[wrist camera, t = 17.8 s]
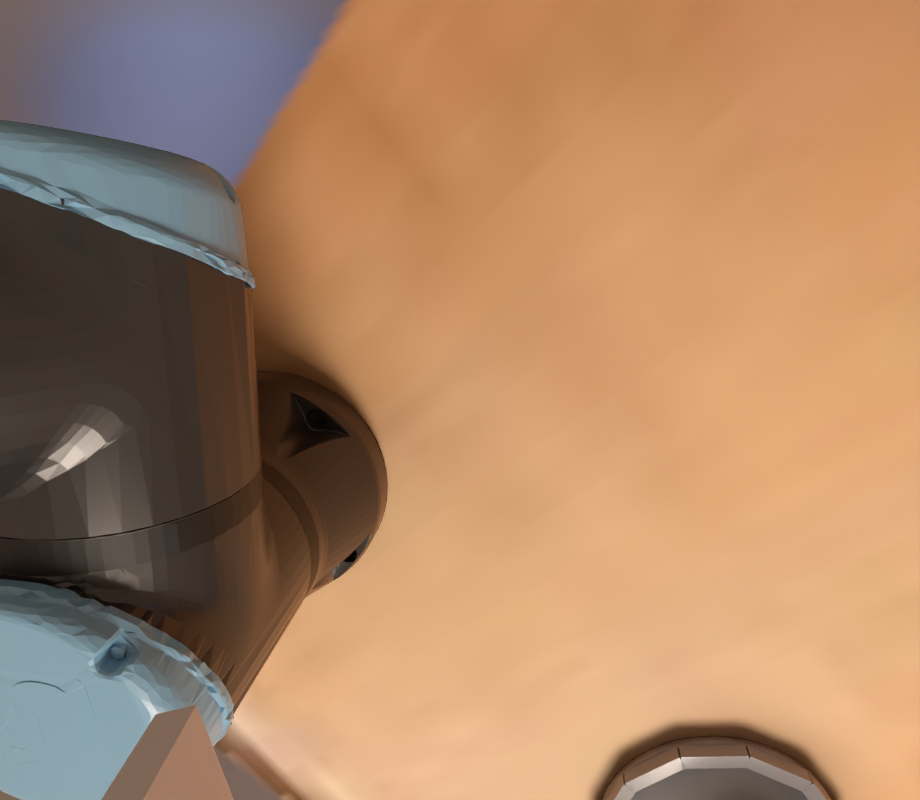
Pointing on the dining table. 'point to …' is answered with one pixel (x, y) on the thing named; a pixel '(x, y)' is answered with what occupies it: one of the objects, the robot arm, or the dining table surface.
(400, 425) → the dining table surface
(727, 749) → the saucer plate
